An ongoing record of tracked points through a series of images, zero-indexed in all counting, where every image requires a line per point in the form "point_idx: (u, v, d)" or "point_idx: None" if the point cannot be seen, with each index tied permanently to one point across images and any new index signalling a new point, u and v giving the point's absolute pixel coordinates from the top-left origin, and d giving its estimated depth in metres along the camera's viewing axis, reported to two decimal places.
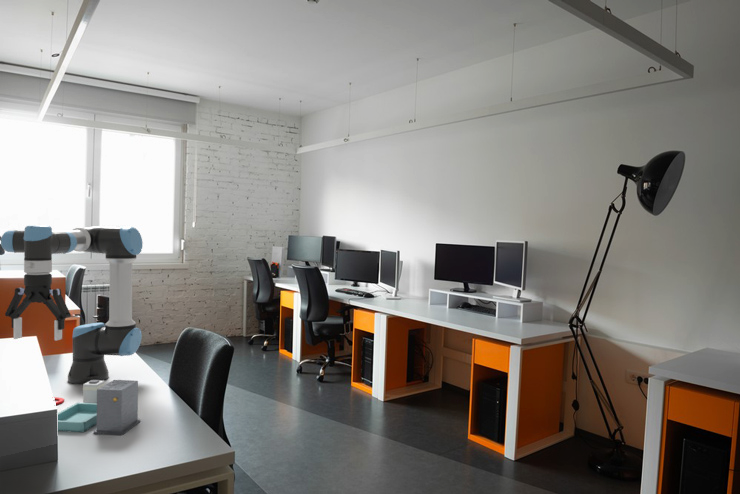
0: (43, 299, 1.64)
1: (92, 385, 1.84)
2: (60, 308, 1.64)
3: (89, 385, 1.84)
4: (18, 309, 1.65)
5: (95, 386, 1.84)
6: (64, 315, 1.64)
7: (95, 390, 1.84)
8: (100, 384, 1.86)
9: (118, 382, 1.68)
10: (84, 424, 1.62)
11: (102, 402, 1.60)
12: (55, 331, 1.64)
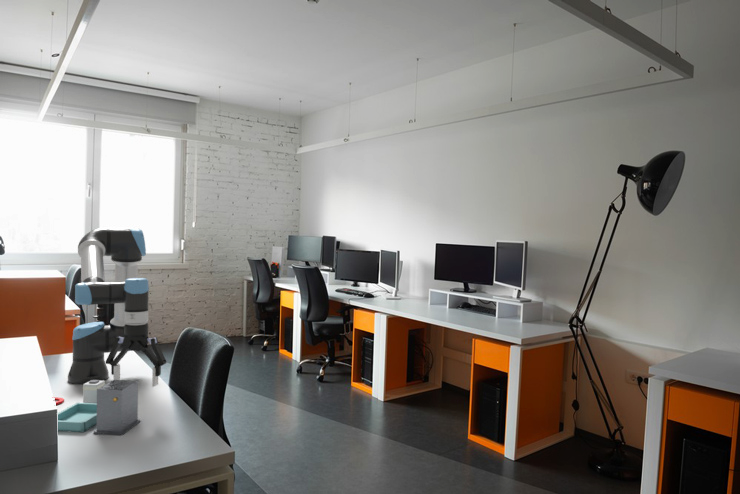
0: (142, 348, 1.74)
1: (92, 385, 1.84)
2: (158, 356, 1.75)
3: (89, 385, 1.84)
4: (118, 357, 1.75)
5: (95, 386, 1.84)
6: (162, 362, 1.75)
7: (95, 390, 1.84)
8: (100, 384, 1.86)
9: (118, 382, 1.68)
10: (84, 424, 1.62)
11: (102, 402, 1.60)
12: (153, 377, 1.75)
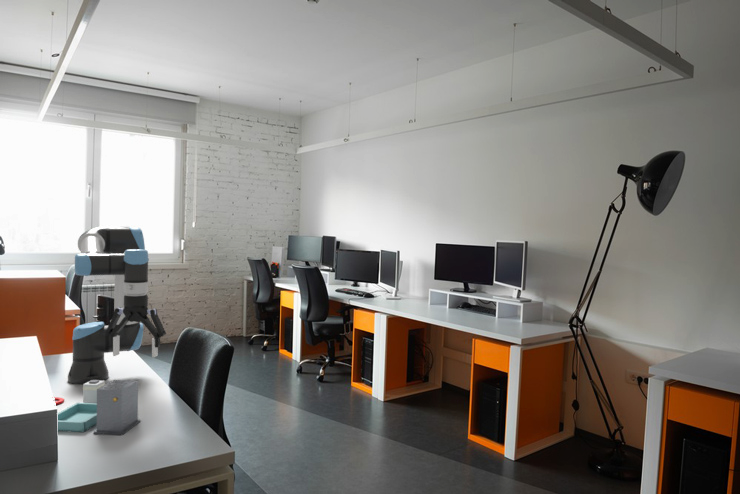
0: (141, 319, 1.74)
1: (92, 385, 1.84)
2: (157, 327, 1.75)
3: (89, 385, 1.84)
4: (117, 328, 1.75)
5: (95, 386, 1.84)
6: (161, 334, 1.75)
7: (95, 390, 1.84)
8: (100, 384, 1.86)
9: (118, 382, 1.68)
10: (84, 424, 1.62)
11: (102, 402, 1.60)
12: (152, 348, 1.75)
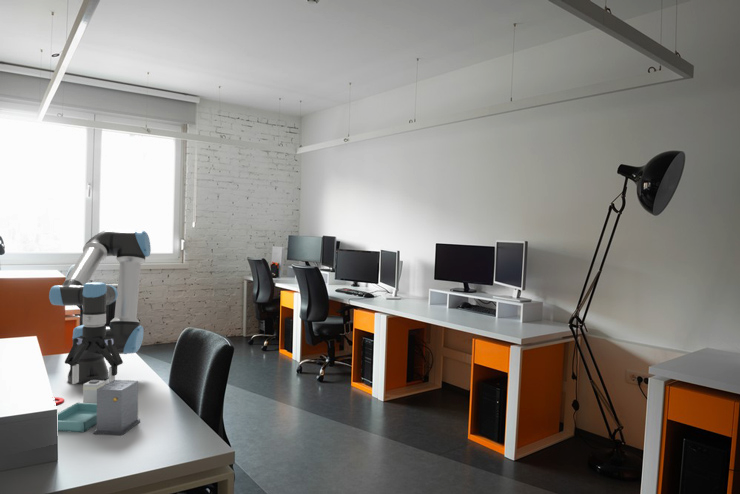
0: (99, 348, 1.84)
1: (92, 385, 1.84)
2: (114, 356, 1.84)
3: (89, 385, 1.84)
4: (76, 357, 1.85)
5: (95, 386, 1.84)
6: (118, 363, 1.84)
7: (95, 390, 1.84)
8: (100, 384, 1.86)
9: (118, 382, 1.68)
10: (84, 424, 1.62)
11: (102, 402, 1.60)
12: (109, 377, 1.84)
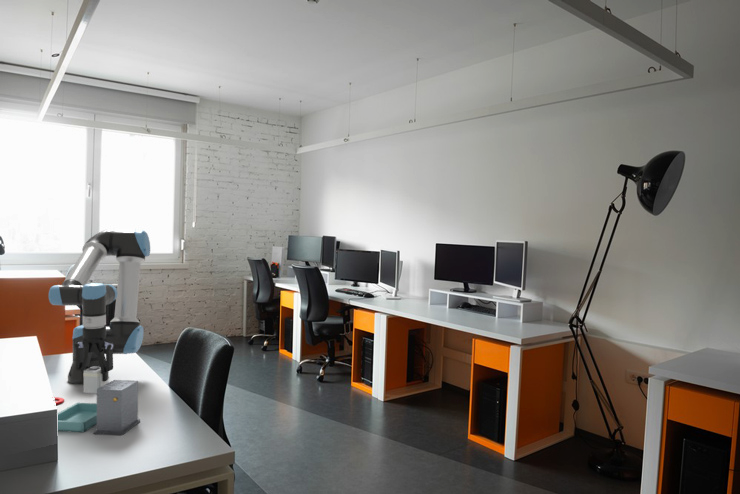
0: (97, 351, 1.84)
1: (92, 371, 1.84)
2: (107, 362, 1.85)
3: (89, 371, 1.84)
4: (84, 362, 1.85)
5: (95, 373, 1.84)
6: (108, 369, 1.85)
7: (95, 377, 1.84)
8: (100, 371, 1.86)
9: (118, 382, 1.68)
10: (84, 424, 1.62)
11: (102, 402, 1.60)
12: (100, 383, 1.86)
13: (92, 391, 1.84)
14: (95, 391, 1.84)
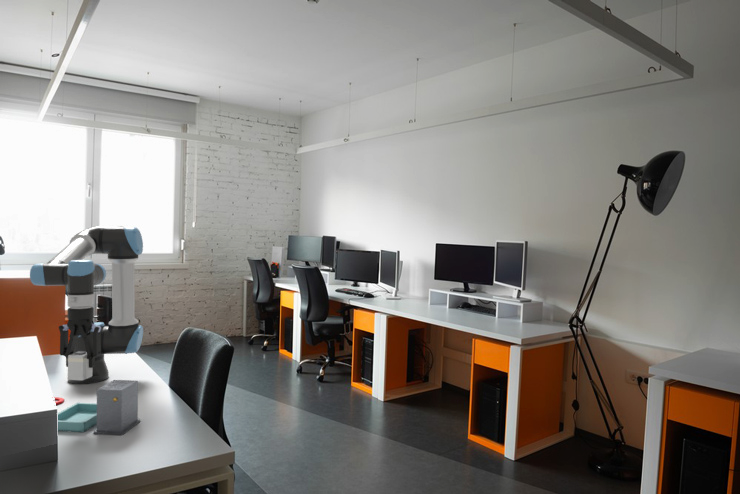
0: (83, 334, 1.68)
1: (78, 356, 1.67)
2: (94, 346, 1.68)
3: (74, 356, 1.67)
4: (69, 346, 1.68)
5: (81, 357, 1.67)
6: (95, 354, 1.68)
7: (81, 362, 1.67)
8: (87, 356, 1.69)
9: (118, 382, 1.68)
10: (84, 424, 1.62)
11: (102, 402, 1.60)
12: (86, 369, 1.68)
13: (77, 378, 1.67)
14: (80, 378, 1.67)
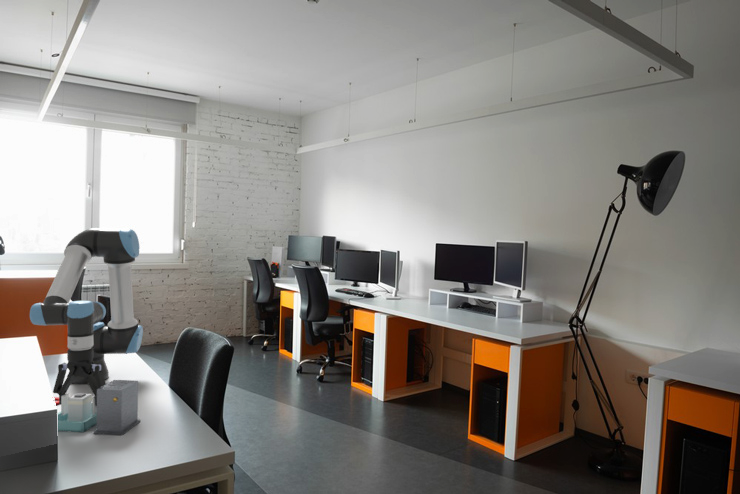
0: (85, 374, 1.68)
1: (77, 399, 1.67)
2: (99, 385, 1.68)
3: (74, 399, 1.67)
4: (64, 385, 1.69)
5: (81, 400, 1.67)
6: None
7: (81, 405, 1.67)
8: (86, 398, 1.70)
9: (118, 382, 1.68)
10: (84, 424, 1.62)
11: (102, 402, 1.60)
12: (93, 407, 1.69)
13: None
14: None
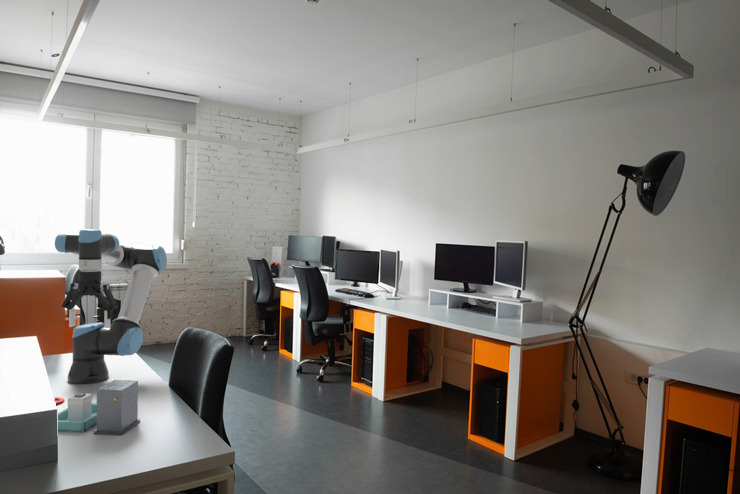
0: (95, 292, 1.91)
1: (77, 399, 1.67)
2: (109, 300, 1.91)
3: (74, 399, 1.67)
4: (73, 301, 1.92)
5: (81, 400, 1.67)
6: (113, 306, 1.91)
7: (81, 405, 1.67)
8: (86, 398, 1.70)
9: (118, 382, 1.68)
10: (84, 424, 1.62)
11: (102, 402, 1.60)
12: (105, 320, 1.91)
13: None
14: None
